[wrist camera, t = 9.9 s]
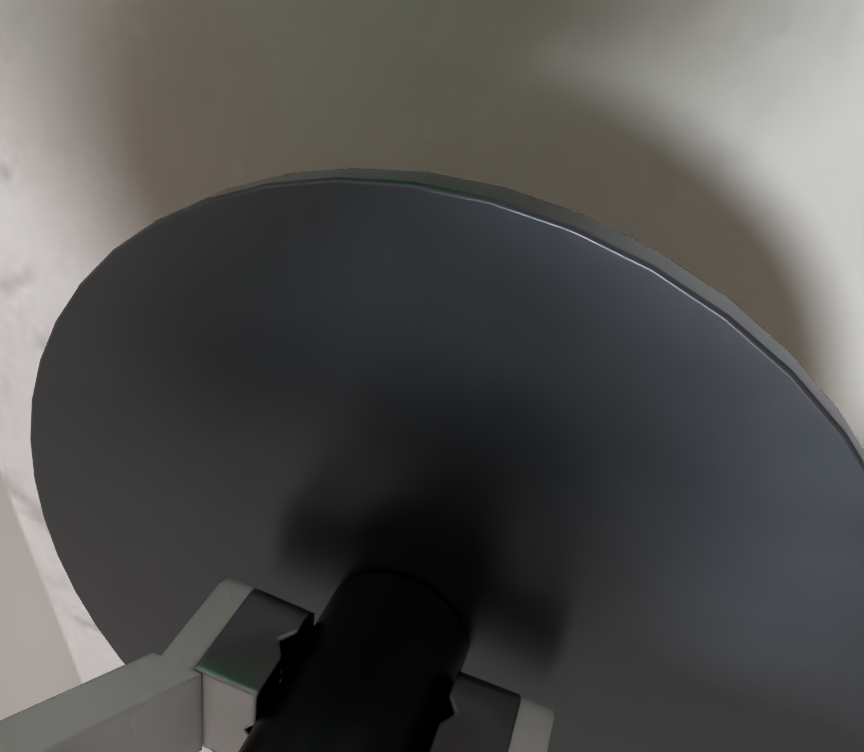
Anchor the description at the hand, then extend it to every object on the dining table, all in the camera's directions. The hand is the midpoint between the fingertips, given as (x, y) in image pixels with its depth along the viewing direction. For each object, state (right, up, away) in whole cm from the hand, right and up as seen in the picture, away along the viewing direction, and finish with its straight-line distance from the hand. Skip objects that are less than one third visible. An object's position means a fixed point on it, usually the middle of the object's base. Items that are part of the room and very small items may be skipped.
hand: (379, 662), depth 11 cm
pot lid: (0, +1, +1) cm, 1 cm away
